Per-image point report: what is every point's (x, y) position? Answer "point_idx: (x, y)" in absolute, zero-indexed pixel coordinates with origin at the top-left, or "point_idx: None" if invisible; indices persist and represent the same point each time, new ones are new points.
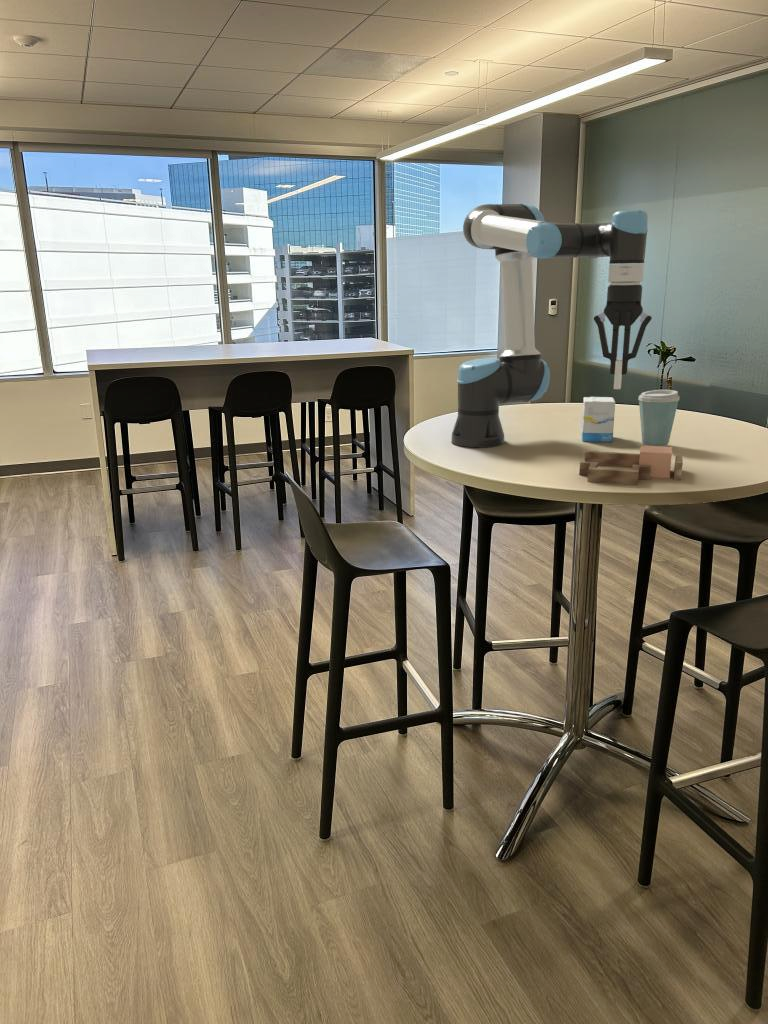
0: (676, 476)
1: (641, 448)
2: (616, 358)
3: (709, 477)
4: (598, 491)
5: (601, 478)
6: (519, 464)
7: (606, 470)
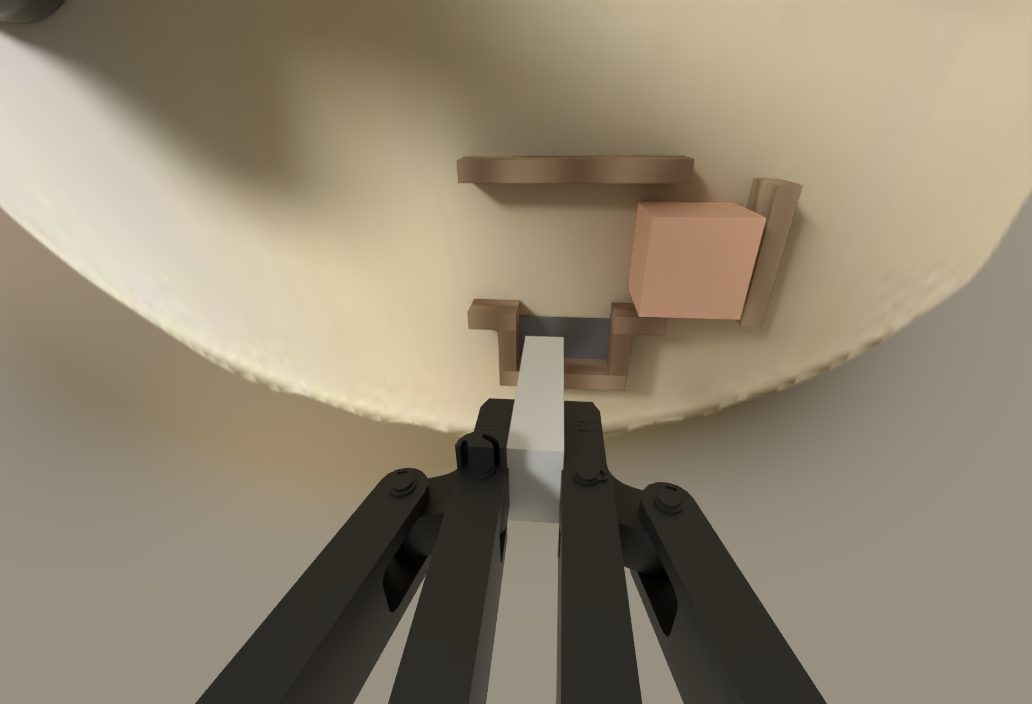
0: None
1: (648, 269)
2: (507, 491)
3: (839, 256)
4: None
5: None
6: (293, 239)
7: None
